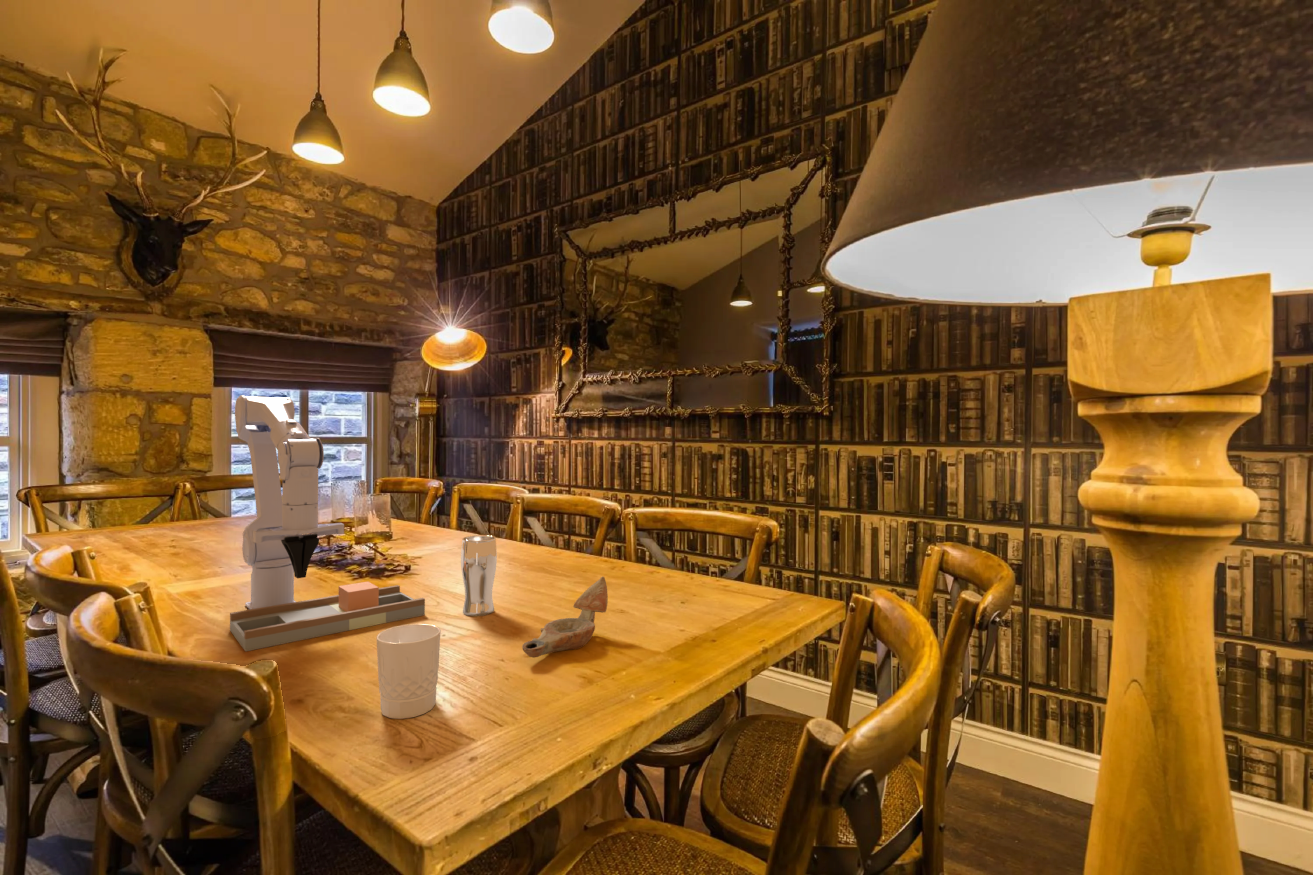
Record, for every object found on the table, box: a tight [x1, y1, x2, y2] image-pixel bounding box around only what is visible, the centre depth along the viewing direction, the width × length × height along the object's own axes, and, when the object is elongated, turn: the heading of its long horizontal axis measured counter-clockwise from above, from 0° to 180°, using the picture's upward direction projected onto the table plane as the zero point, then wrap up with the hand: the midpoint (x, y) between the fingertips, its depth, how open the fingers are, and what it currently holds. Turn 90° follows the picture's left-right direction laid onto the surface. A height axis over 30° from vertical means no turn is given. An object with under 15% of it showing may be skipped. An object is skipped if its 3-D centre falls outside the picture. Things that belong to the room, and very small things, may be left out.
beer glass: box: [460, 534, 498, 617], centre depth 124 cm, size 7×7×15 cm
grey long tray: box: [229, 584, 426, 652], centre depth 116 cm, size 14×30×3 cm, turn 133°
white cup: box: [376, 623, 442, 720], centre depth 81 cm, size 8×8×10 cm
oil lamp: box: [521, 576, 609, 659], centre depth 105 cm, size 9×21×10 cm, turn 150°
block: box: [338, 581, 380, 612], centre depth 119 cm, size 6×6×4 cm
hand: (300, 576), depth 113 cm, fingers closed
